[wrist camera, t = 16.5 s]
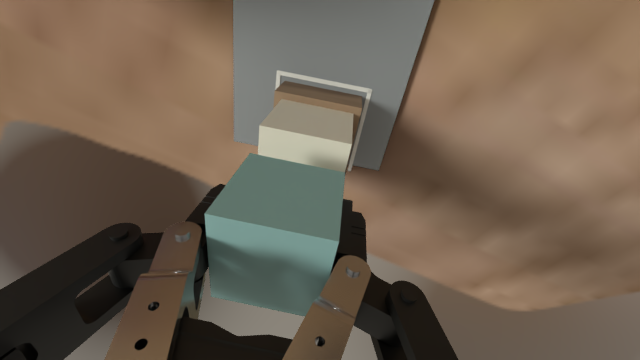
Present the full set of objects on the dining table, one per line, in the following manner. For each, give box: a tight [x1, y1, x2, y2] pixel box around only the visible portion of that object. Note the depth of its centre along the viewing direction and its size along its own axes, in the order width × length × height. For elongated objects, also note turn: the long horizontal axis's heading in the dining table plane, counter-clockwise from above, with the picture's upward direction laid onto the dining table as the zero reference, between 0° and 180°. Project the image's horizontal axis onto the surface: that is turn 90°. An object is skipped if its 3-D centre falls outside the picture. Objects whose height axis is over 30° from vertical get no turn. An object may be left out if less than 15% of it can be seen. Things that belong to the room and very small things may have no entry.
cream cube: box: [258, 99, 353, 172], centre depth 18 cm, size 5×5×5 cm
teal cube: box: [205, 153, 345, 316], centre depth 12 cm, size 4×4×4 cm
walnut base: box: [273, 81, 362, 174], centre depth 21 cm, size 6×6×3 cm
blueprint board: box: [233, 0, 434, 171], centre depth 20 cm, size 18×13×1 cm
